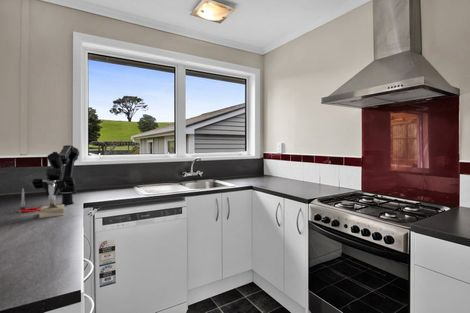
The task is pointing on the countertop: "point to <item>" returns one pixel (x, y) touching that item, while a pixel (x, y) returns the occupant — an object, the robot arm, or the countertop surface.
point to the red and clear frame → (22, 208)
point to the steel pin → (51, 193)
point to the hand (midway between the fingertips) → (51, 195)
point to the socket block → (51, 211)
